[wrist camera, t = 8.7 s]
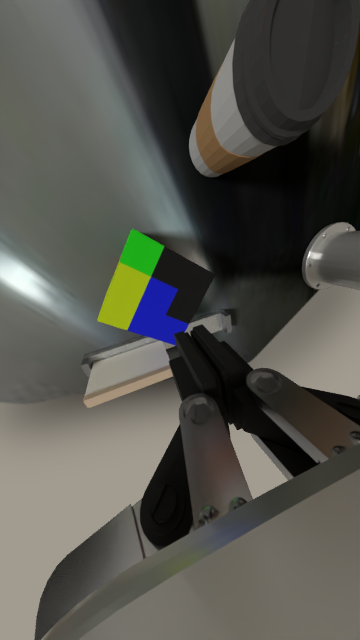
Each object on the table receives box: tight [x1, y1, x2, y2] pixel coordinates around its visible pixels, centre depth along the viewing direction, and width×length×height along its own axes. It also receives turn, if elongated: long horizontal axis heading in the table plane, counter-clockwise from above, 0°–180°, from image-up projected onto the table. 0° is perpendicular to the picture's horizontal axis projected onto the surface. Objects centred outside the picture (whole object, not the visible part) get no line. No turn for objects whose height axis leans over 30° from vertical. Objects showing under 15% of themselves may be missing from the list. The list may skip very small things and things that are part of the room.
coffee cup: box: [189, 0, 359, 177], centre depth 18 cm, size 8×8×15 cm
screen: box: [83, 341, 173, 408], centre depth 28 cm, size 12×1×8 cm, turn 103°
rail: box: [81, 309, 232, 378], centre depth 32 cm, size 26×4×3 cm, turn 103°
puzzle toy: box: [97, 229, 215, 346], centre depth 25 cm, size 10×10×10 cm
